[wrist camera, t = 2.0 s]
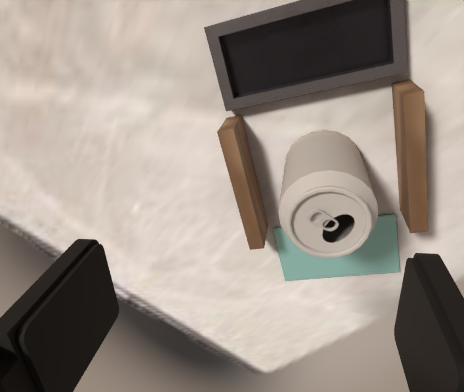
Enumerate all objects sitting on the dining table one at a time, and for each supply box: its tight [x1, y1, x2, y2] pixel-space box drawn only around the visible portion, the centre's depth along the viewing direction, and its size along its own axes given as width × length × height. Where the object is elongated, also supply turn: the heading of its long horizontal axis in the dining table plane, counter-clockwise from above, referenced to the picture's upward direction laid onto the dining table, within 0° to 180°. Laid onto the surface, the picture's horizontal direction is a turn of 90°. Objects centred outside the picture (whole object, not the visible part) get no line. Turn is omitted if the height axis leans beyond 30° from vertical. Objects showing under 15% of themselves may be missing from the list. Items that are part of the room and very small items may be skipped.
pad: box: [273, 214, 400, 281], centre depth 42 cm, size 13×8×1 cm, turn 105°
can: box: [278, 130, 378, 258], centre depth 32 cm, size 8×8×12 cm
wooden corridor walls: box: [217, 80, 428, 250], centre depth 35 cm, size 17×13×4 cm
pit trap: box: [204, 0, 407, 111], centre depth 32 cm, size 16×8×2 cm, turn 105°
